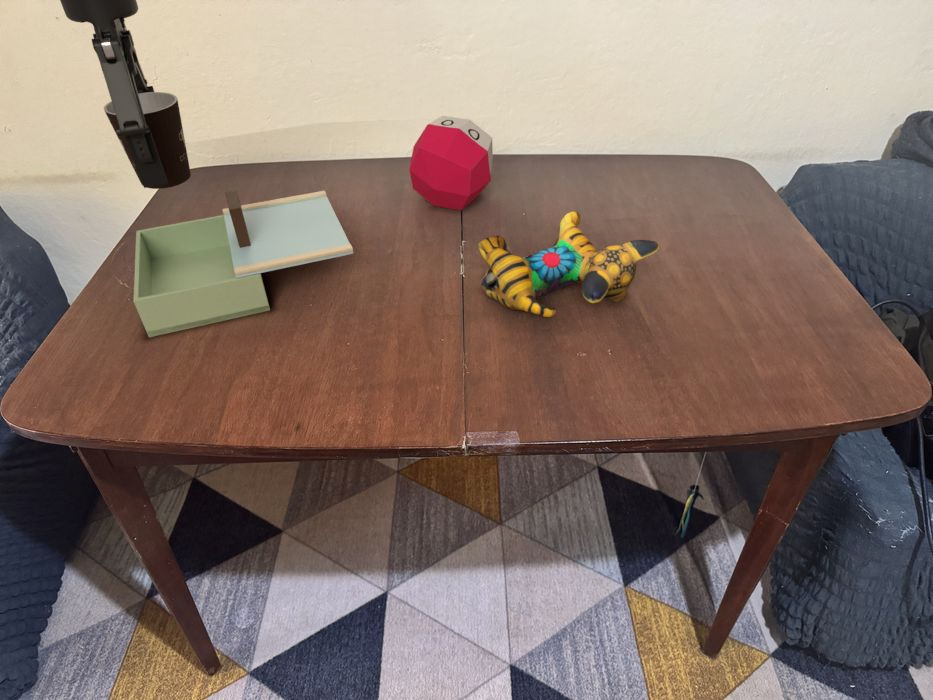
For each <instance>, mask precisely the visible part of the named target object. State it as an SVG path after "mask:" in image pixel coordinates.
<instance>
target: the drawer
mask: <svg viewBox="0 0 933 700" xmlns="http://www.w3.org/2000/svg"><path fill="white" fill-rule="evenodd" d="M225 199H226V203H227V207H226V208H222V215H224V219H225V224H226V230H227V235H228V240H229V245H230V250H231V256H232V261H233V266H234V273H235V276H236V278H239V277H244V276H249V275H253V274H258V273H261V274H262V273H267V272H268V273H269V272H273V271H277V270H282V269H287V268H291V267H296V266H301V265H305V264H311V263H315V262H320V261H324V260H329V259H334V258H340V257H344V256H348V255H353V254H354V248H353V246H352V244H351V243H350V241H349V239H348V236H347V235H346V232H345V230H344V228H343V227H342V224H341V222H340V220H339V218H338V217H337V214H336V212H335V210H334V208H333V206H332V204H331V201H330V200H329V198H328V196H327V192H326V190H319V191H315V192H309V193H308V192H307V193H303V194H297V195H292V196H287V197H281V198H275V199H270V200H264V201H259V202H253V203H248V204H242V205H241V201H240V196H239V193H238V190H231V191H230V190H229V191H226V192H225Z"/></svg>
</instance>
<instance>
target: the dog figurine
mask: <svg viewBox="0 0 933 700" xmlns="http://www.w3.org/2000/svg"><path fill="white" fill-rule="evenodd" d="M580 223H581V215H580V213H579V212H578V211H569V212H567V213H566V214H565V215H564V216H563V217H562V219H561V220H560V223H559V227H558V237H557V239H556V240H555V242H554V244H553V246H552V247H549V248H545V249H542V250H539V251H538V252H536V253H534V254H530V255H526V256H524V257H522V256H519V255H516V254H514V253H512V250H511V249H510V246H509V245H508V244H507V242H506V239H505V238H504V237H503V236H501V235H492V236H488V237H485V238H484V239H482V240H480V241H479V242H478V244H477V247H478V250H479V253H480V255H481V258H483V260H484V262H485V263H486V265H488V266H489V269H488V270H487V271H486V273H485V274H484V275H483V277H482V279H481V282H480V285H481V288H482V290H483V291H484V293H485V294H486V296H487V297H488V298H489V299H491V300H493V301H495V302H498V303H499V304H501V305H502V306H503V307H504V308H506V309H509V310H513V311H514V310H515V311H524V312H526V313H528V312H529V313H532V314H535V315H538V316H541V317H543V318H551V317H554V316H556V314H557V310H556V309H555V308H552V307H550V306H548V305H544V304H542V303H540V302H539V301H538V300H537V299H539V298H543V297H546V296H548V295H551V294H553V293H554V292H556V291H559V290H561V289H563V288H565V287H568V286H570V285H575V284H582V285H581V294H582V297H583V298H584V299H585V301H587V302H588V303H590V304H597V303H600V302H601V301H602V300H604V299H608V300H609V301H611V302H613V303H615V304H617V303H619V302H620V301H622V300H624V299H625V298H626V297H627V295H628V294H629V293H628V288H629V287H631V285H632V283H633V282H634V279H635V276H636V273H637V272H636V271H637V263H638V261H641V260H642V259H645V258H647V257H650V256H652V255H654V254H656V253H657V252H658V251H659V249H660V244H659V242H657V241H656V240H655V241H654V240H648V239H634V240H630V241H628V242H625V243H622V244H614V245H609V246H607V247H604V248H602V249H601V250H599V251H598V249H596V247H595V246H594V245H593V242H591V240H590V239H589V238H588V237H587V236H586V234H584V232H583V231H582V230H581V229H579V228H578V226H579V225H580Z"/></svg>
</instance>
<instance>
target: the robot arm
mask: <svg viewBox="0 0 933 700" xmlns="http://www.w3.org/2000/svg"><path fill="white" fill-rule="evenodd" d="M59 1H60V5H61V7H62V9H63V12H64V14H65V16H66V18H67V19H68V20H70V21H71V22H76V23H81V24H84V23H89V24H90V25H91V24H92V27H93V31H94V33H92V37H93V38H91V43H92V47H93V50H94V51H95V53H96V56H97V58H98V62H99V65H100V69H101V71H102V75H103V77H104V81H105V84H106V87H107V90H108V93H109V97H110V101H112V103H113V107H114V110H115V113H116V117H117V120H118V123H119V126H120V128H119V130H116V133H117V135H118V137H126V140H127V142H128V145H129V148H130V150H131V153H132V156H133V159H134V161H135V164H136V167H137V170H138V172H139V175H140V178H141V180H142V183H143V185H142V186H143V188H144V189H146V188H147V187H153V186H159V185H165V184H168V182H167V179H166V176H165V173H164V170H163V167H162V164H161V161H160V158H159V155H158V152H157V149H156V146H155V143H154V140H153V137H152V134H151V131H150V130H149V129H148V126H147V125H146V122H145V118H144V114H143V110H142V107H141V103H140V99H139V95H138V93H146V92H155V89H154V85H148V80H147V79H146V76H145V75H144V71H143V69H142V66H141V64H140V61H139V59H138V55H137V50H136V48H135V43H134V39H133V35H132V33H131V30H130V29H127V26H126V20H125V19H128V18H130V17H133V16H135V15H136V14H138V11H139V5H138V2H137V0H59ZM130 121H137V123H130V124H127V122H130ZM116 133H115V134H116ZM117 135H116V136H117ZM118 137H117V138H118ZM147 189H148V188H147Z"/></svg>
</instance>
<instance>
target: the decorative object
mask: <svg viewBox="0 0 933 700" xmlns="http://www.w3.org/2000/svg"><path fill="white" fill-rule="evenodd" d="M493 154H494V151H493V137H492V136H491V135H490V134H488V132H487V131H485V130H484V129H482V128H481V127H480V126H479V125H477V124H476V123H475V122H474V121H473V120H471V119H468V118H461V117H454V116H448V115H441V116H440V117H438V118H436V119H434V120H433V121H431V122H429V123H428V124H427V125H426V126H425V128H424V129H423V131H422V132H421V133H420V135H419V137H418V139H417V140H416V142H415V143H414V145H413V148H412V153H411V159H410V164H409V171H408V172H409V175H410V180H411V185H412V189H413V190H414V191H415V192H416V193H418V195H420V196H422V198H424V199H425V200H426V201H427V202H429V203H430V204H431V205H432V206H434V207H438V208H444V209H450V210H455V211H463V209H465V208H466V207H467V206H469V204H471V203H472V202H473V201H475V200H476V199H477V198H478V196H479V195H480V194H481V193H482V192H483V191H484V189H485V188H486V187H487V186H488V185H489V183H490V182H491V180H492V171H493V170H492V169H493V160H494V155H493Z"/></svg>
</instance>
